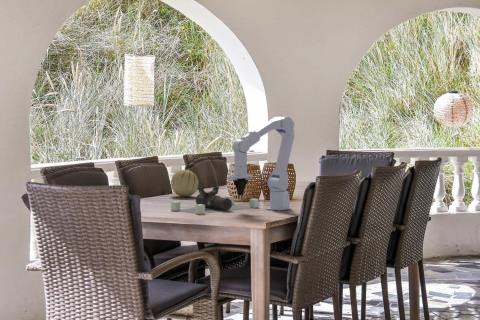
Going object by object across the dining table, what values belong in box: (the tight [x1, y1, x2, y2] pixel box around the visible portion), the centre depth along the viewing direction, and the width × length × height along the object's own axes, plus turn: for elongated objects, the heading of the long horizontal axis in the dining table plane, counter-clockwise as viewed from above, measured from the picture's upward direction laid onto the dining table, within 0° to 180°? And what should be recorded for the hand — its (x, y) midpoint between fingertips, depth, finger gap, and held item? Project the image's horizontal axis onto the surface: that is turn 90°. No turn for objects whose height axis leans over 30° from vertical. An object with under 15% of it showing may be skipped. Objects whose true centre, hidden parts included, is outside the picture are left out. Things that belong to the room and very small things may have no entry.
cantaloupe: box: [170, 168, 199, 198], centre depth 441 cm, size 15×15×15 cm
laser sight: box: [195, 185, 232, 210], centre depth 389 cm, size 10×22×10 cm, turn 38°
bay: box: [170, 195, 259, 215], centre depth 389 cm, size 40×19×4 cm, turn 138°
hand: (240, 195), depth 378 cm, fingers closed
